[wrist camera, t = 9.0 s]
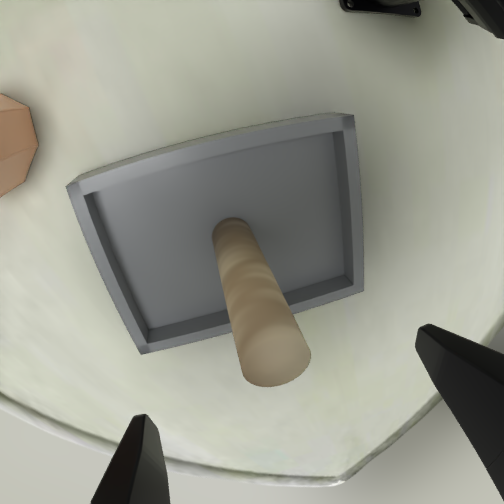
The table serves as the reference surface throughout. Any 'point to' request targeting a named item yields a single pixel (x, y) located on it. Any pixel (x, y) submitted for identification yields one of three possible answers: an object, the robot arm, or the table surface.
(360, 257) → the tray
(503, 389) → the robot arm
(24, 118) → the cup
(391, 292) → the table surface
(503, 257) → the table surface
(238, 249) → the dowel pin
